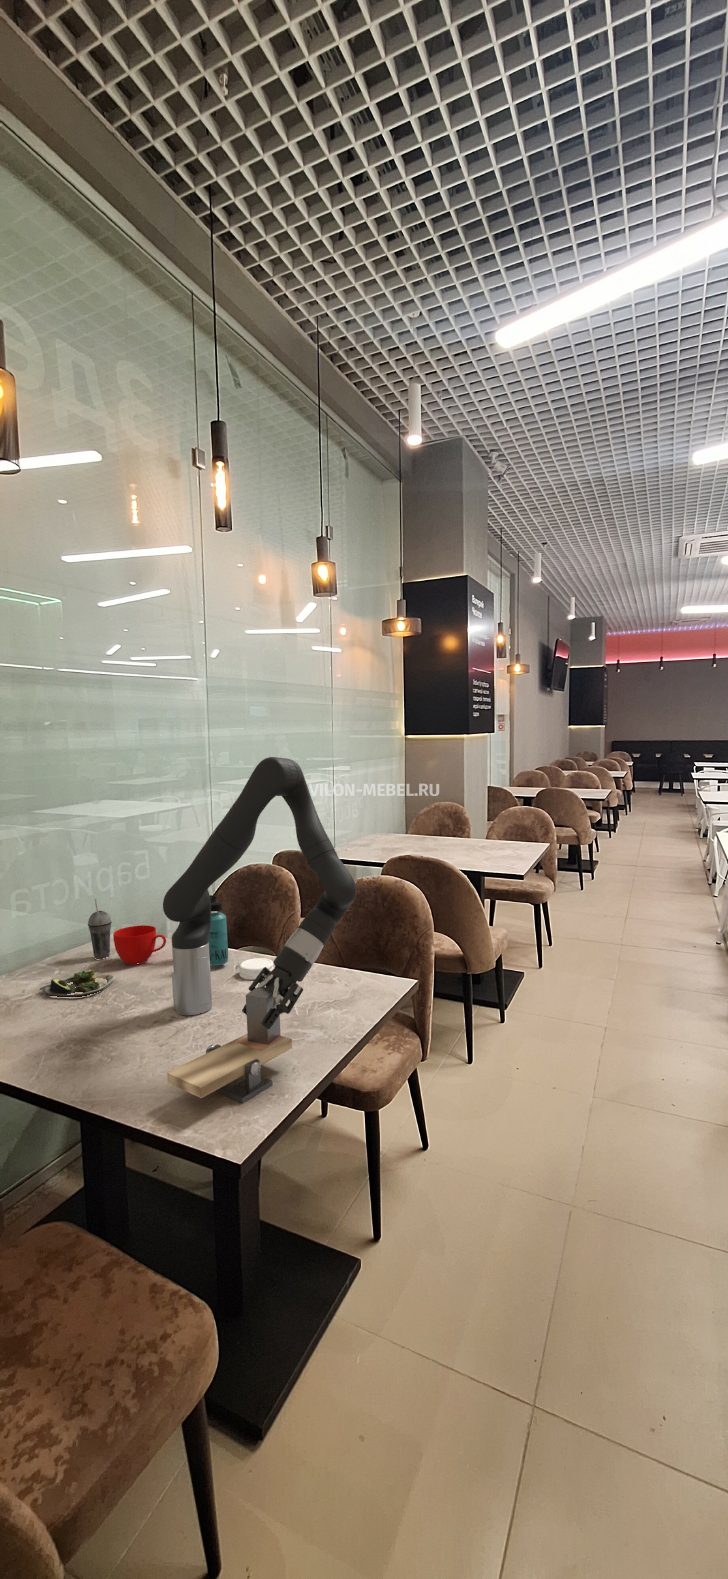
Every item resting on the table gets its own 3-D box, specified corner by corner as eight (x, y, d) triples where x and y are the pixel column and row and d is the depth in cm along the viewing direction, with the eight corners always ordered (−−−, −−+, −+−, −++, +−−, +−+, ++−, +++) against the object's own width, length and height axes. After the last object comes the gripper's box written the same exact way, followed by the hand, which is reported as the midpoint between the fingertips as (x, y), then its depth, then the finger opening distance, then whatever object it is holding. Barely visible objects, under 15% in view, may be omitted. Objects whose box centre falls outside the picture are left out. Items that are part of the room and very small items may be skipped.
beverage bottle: (209, 963, 209) (205, 901, 207) (230, 962, 209) (227, 899, 208) (205, 971, 202) (202, 906, 201) (228, 969, 203) (224, 905, 201)
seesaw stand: (195, 1082, 136) (194, 1053, 135) (226, 1066, 142) (224, 1038, 142) (242, 1103, 127) (241, 1072, 127) (272, 1085, 134) (271, 1055, 133)
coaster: (273, 967, 204) (272, 956, 204) (274, 978, 194) (274, 967, 194) (240, 970, 202) (239, 959, 202) (239, 982, 192) (239, 970, 192)
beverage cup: (118, 955, 220) (114, 895, 219) (103, 962, 214) (99, 901, 212) (100, 953, 223) (96, 894, 221) (85, 960, 216) (80, 900, 214)
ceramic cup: (157, 969, 205) (155, 937, 204) (107, 968, 208) (104, 936, 207) (176, 955, 218) (174, 925, 217) (128, 954, 221) (126, 925, 220)
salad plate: (75, 974, 204) (74, 959, 204) (128, 976, 201) (127, 961, 200) (32, 999, 186) (30, 983, 185) (89, 1001, 182) (88, 985, 182)
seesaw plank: (167, 1082, 128) (167, 1071, 128) (259, 1036, 147) (258, 1027, 147) (201, 1098, 122) (200, 1086, 122) (292, 1048, 141) (291, 1038, 141)
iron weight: (247, 1041, 140) (245, 994, 139) (260, 1031, 145) (258, 986, 144) (268, 1044, 138) (266, 997, 137) (280, 1034, 143) (278, 989, 142)
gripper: (271, 938, 149) (227, 1001, 143) (305, 952, 138) (259, 1022, 132) (292, 955, 153) (250, 1018, 147) (327, 971, 142) (283, 1040, 136)
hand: (254, 1020), depth 140 cm, fingers open, 8 cm apart
